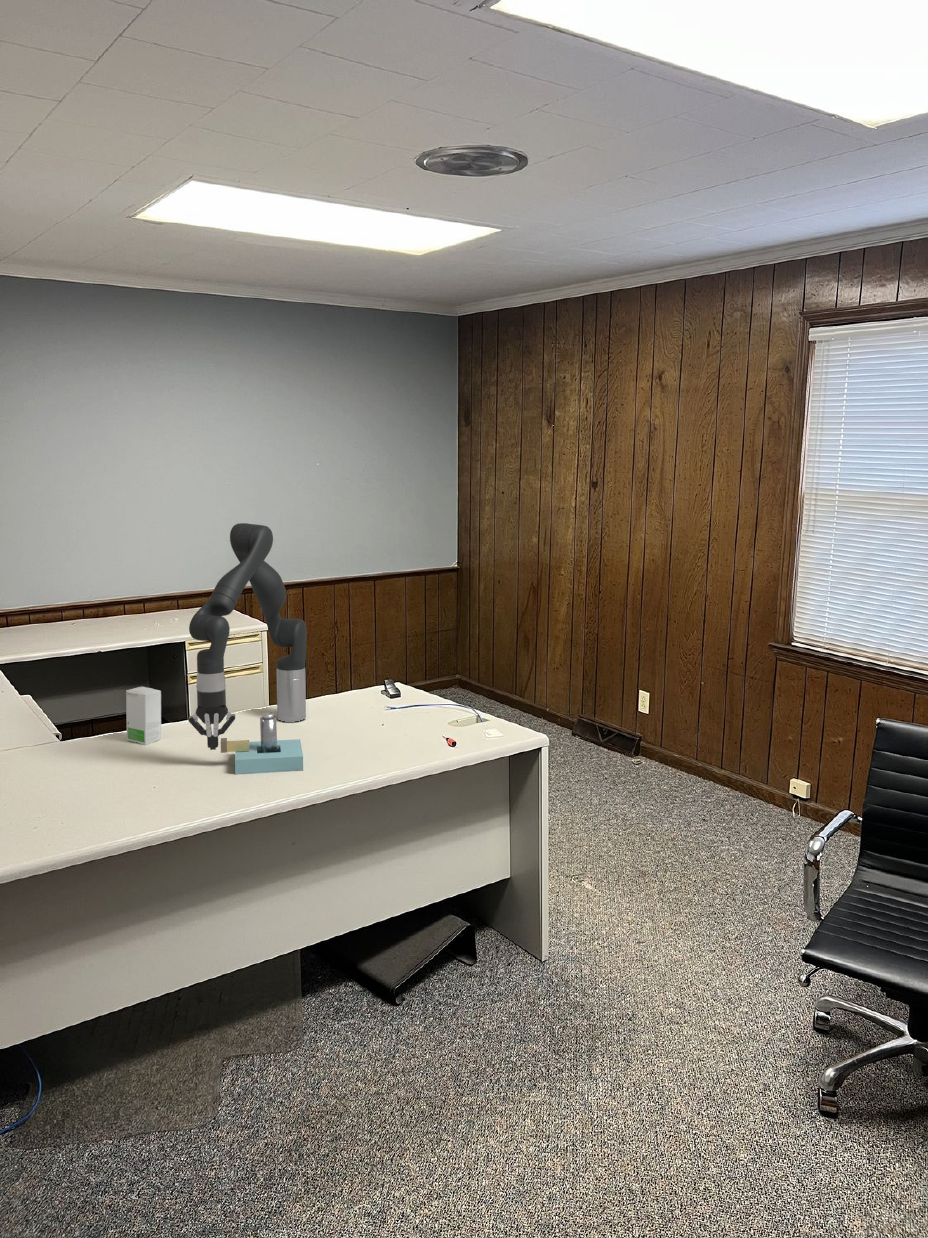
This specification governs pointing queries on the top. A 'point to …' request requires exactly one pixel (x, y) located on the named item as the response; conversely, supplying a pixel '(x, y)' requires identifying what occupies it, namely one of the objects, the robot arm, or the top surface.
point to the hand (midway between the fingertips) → (213, 748)
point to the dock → (270, 758)
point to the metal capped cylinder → (268, 733)
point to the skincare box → (143, 715)
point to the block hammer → (234, 745)
